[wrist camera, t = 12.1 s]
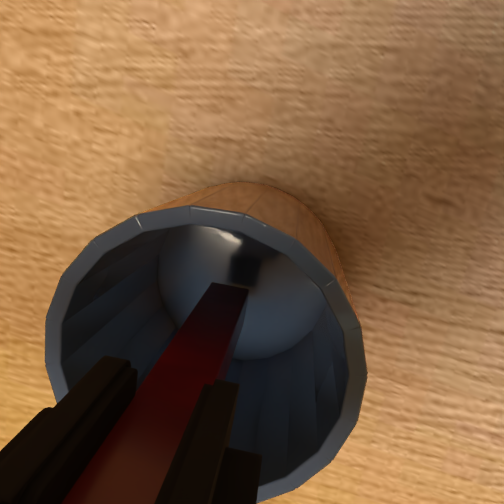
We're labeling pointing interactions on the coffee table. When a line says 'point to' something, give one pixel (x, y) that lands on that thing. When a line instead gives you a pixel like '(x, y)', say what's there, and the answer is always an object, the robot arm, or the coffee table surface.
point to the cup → (255, 323)
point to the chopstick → (164, 404)
